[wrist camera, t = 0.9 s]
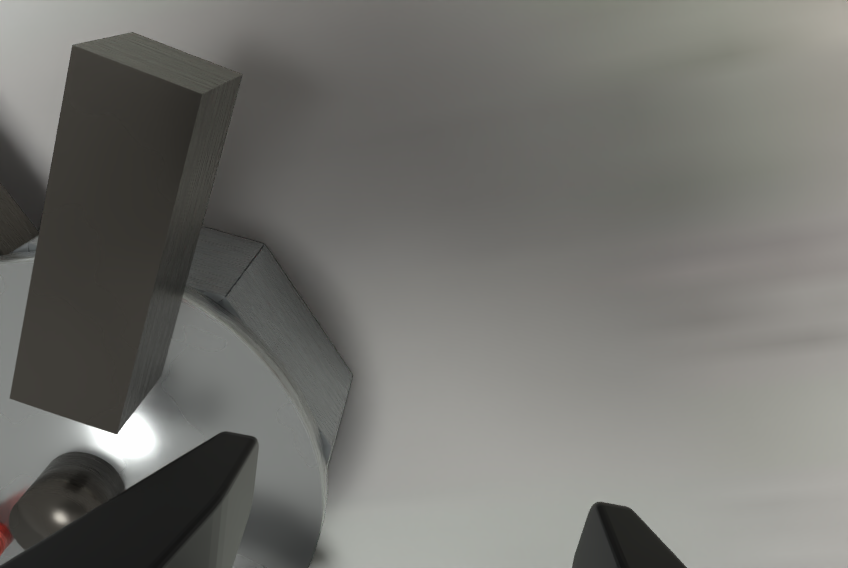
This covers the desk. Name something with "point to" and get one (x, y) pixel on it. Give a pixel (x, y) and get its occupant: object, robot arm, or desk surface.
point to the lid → (139, 316)
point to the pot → (245, 309)
